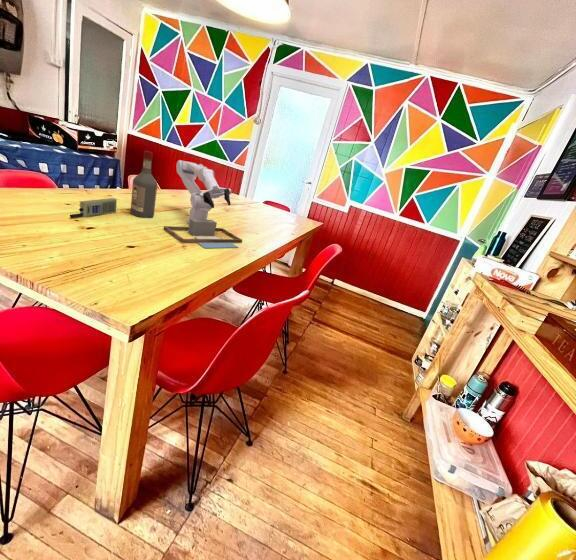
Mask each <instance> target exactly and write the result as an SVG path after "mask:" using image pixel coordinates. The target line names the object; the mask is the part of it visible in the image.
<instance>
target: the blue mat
mask: <svg viewBox="0 0 576 560" xmlns="http://www.w3.org/2000/svg"><path fill="white" fill-rule="evenodd" d="M197 245H199V246H200V247H202V248H204V249H205V250H206V249H211V250H212V249H239V246H238V245H235V243H197Z"/></svg>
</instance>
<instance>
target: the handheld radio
mask: <svg viewBox="0 0 576 560" xmlns="http://www.w3.org/2000/svg"><path fill="white" fill-rule="evenodd" d="M117 202H118V201H117V198H115V197H112V198H111V197H110V198H100V199H90V200H82V201H79V209H78V211H79V213H75V214H73V213H72V214H70V215H69V217H70V219H73V218H84V219H85V218H86V219H87V218H91V217H92V218H93V217H97V216H103V215H109V214H115V213H117Z"/></svg>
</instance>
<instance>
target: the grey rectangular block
mask: <svg viewBox="0 0 576 560" xmlns="http://www.w3.org/2000/svg"><path fill="white" fill-rule="evenodd" d="M188 227H189V229H188V231H187V234H189V235H190V236H192V237H205V236H215V235H216V231H215V230H216V228H217V222H216V221H215V220H213V219H207V220H203V219H190V222H189V223H188Z"/></svg>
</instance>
